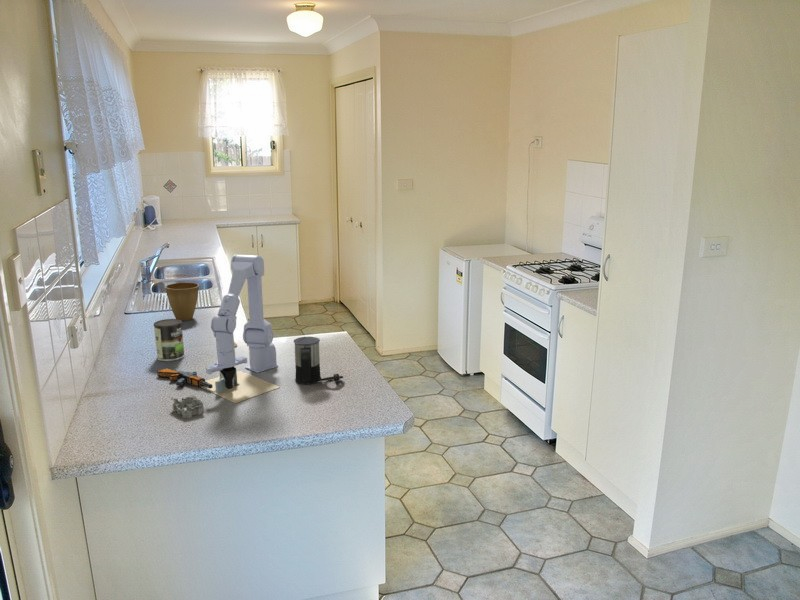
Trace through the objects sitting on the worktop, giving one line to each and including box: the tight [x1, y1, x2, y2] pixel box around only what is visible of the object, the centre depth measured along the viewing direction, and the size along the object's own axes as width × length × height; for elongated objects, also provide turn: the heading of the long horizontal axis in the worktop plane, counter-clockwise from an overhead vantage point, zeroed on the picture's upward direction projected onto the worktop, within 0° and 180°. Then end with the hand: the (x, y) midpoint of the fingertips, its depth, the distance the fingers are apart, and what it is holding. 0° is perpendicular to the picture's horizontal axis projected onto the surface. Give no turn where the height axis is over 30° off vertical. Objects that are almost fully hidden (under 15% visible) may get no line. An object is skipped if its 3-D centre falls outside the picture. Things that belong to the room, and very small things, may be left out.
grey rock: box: [170, 395, 205, 419], centre depth 207 cm, size 11×8×4 cm
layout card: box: [200, 370, 280, 404], centre depth 227 cm, size 18×24×1 cm
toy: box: [156, 367, 213, 388], centre depth 230 cm, size 2×26×10 cm
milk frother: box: [293, 336, 344, 385], centre depth 230 cm, size 14×16×15 cm
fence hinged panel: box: [215, 372, 237, 393], centre depth 223 cm, size 10×1×4 cm, turn 153°
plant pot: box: [164, 281, 200, 322], centre depth 307 cm, size 15×15×16 cm
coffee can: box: [153, 318, 185, 362], centre depth 255 cm, size 10×10×14 cm
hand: (229, 388), depth 221 cm, fingers closed, pressing on fence hinged panel
